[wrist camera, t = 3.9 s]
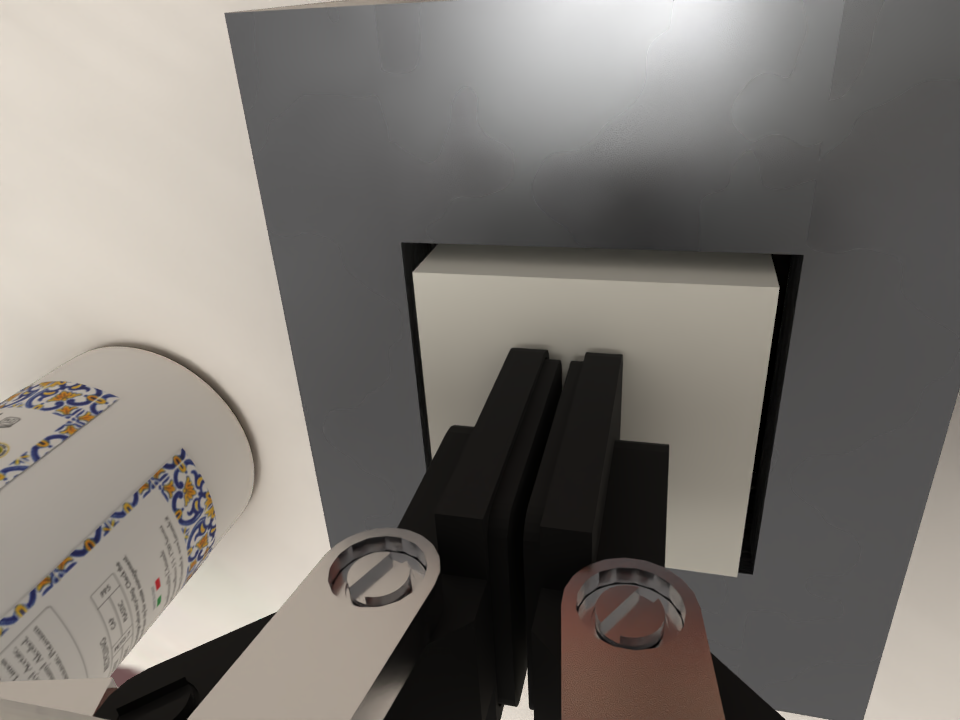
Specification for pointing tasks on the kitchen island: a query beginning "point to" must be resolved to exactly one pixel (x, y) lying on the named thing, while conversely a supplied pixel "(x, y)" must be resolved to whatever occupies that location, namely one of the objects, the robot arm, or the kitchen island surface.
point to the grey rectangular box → (641, 226)
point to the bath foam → (108, 506)
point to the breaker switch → (646, 359)
